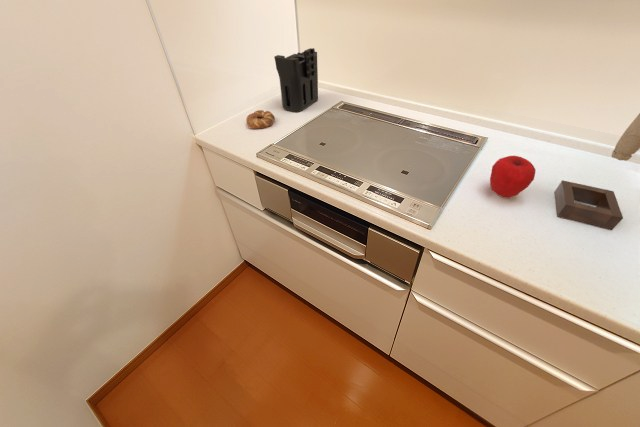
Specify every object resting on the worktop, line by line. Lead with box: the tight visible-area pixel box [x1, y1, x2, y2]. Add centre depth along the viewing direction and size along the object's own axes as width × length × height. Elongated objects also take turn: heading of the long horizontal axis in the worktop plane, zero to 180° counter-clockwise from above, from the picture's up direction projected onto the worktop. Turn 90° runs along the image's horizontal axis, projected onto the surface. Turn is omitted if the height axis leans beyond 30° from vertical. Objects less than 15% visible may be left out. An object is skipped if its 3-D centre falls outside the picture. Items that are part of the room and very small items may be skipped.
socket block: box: [554, 179, 624, 231], centre depth 73 cm, size 11×11×4 cm
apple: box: [489, 155, 536, 199], centre depth 77 cm, size 10×10×11 cm
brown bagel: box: [245, 109, 276, 130], centre depth 114 cm, size 12×11×4 cm
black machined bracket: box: [273, 47, 319, 113], centre depth 122 cm, size 12×21×22 cm, turn 149°
